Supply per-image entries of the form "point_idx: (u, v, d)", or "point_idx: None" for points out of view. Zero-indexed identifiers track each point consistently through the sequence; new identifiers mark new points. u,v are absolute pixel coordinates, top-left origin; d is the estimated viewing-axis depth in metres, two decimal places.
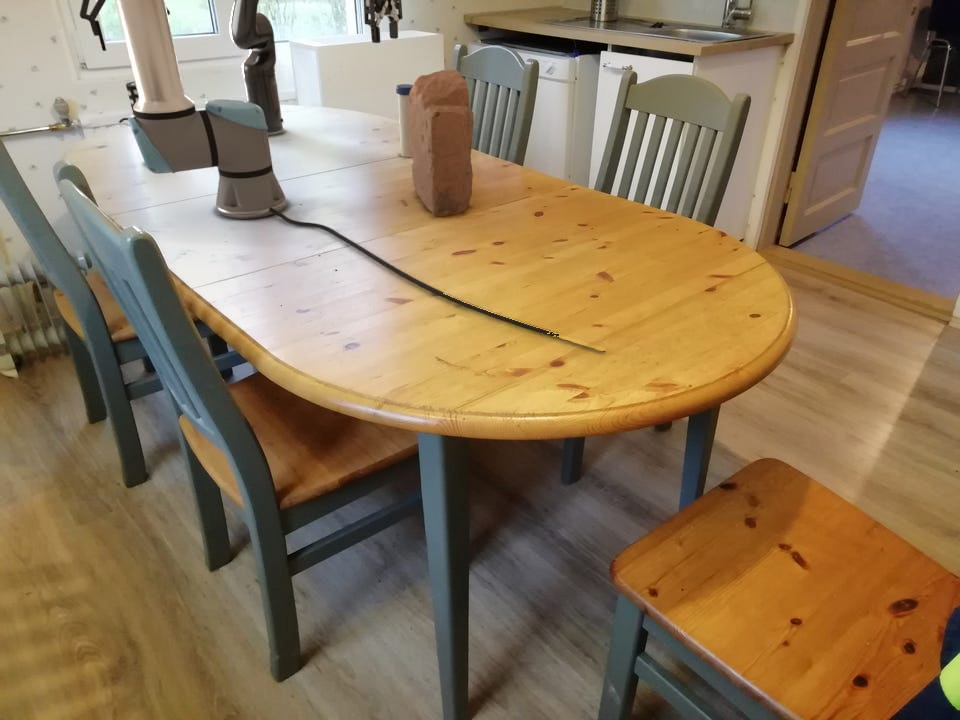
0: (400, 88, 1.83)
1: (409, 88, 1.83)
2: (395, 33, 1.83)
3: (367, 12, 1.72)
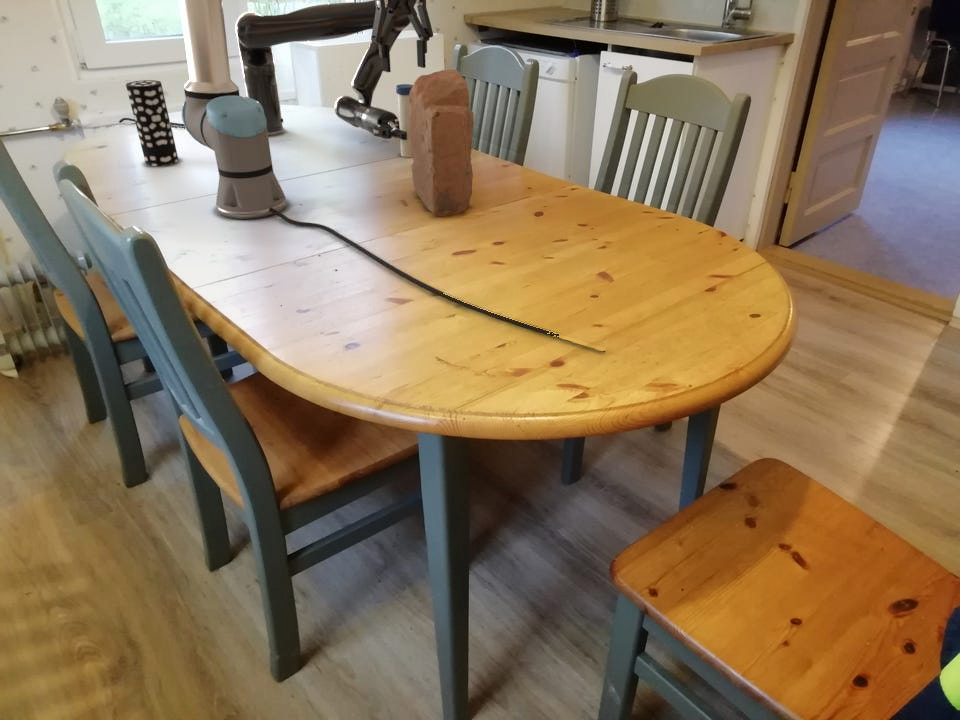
0: (400, 88, 1.83)
1: (409, 88, 1.83)
2: None
3: None
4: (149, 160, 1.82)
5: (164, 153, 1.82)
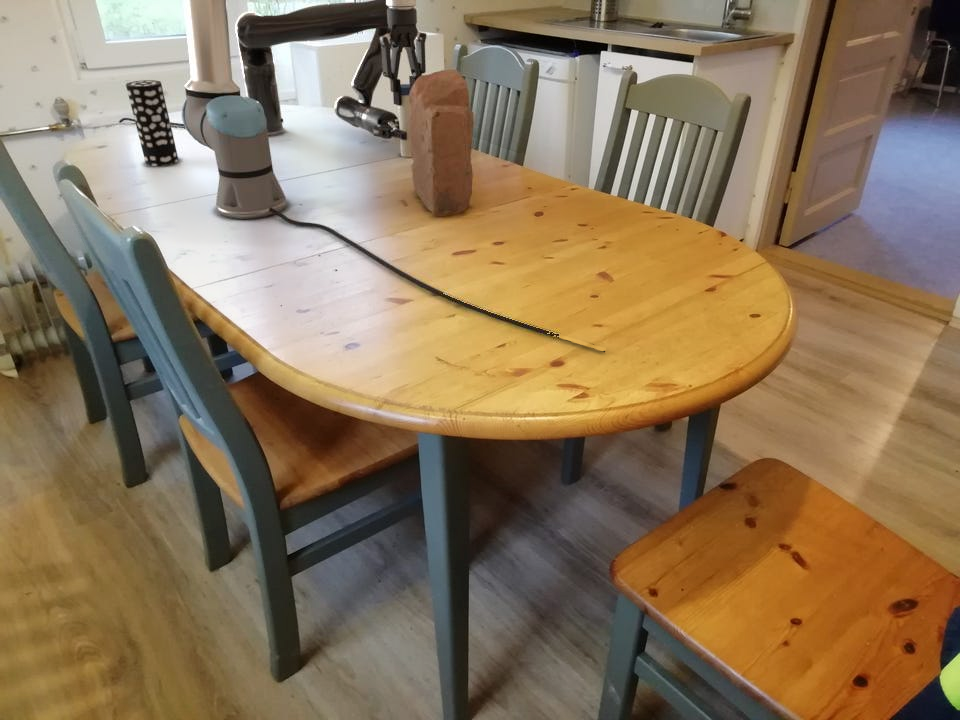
0: None
1: (409, 88, 1.83)
2: None
3: None
4: (149, 160, 1.82)
5: (164, 153, 1.82)
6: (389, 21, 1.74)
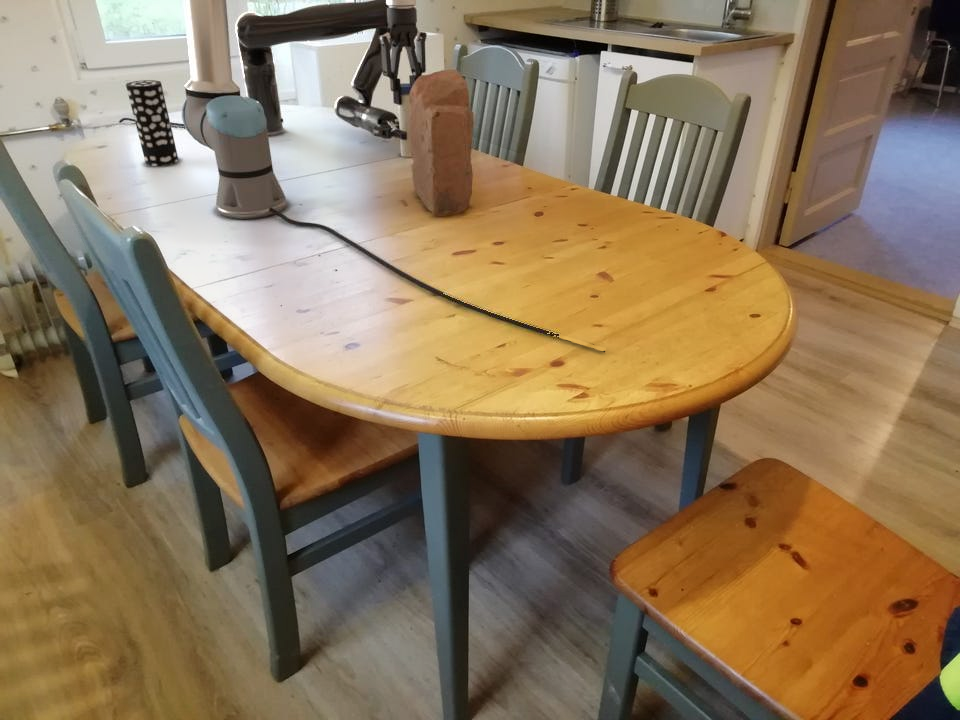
0: None
1: None
2: None
3: None
4: (149, 160, 1.82)
5: (164, 153, 1.82)
6: (389, 20, 1.74)
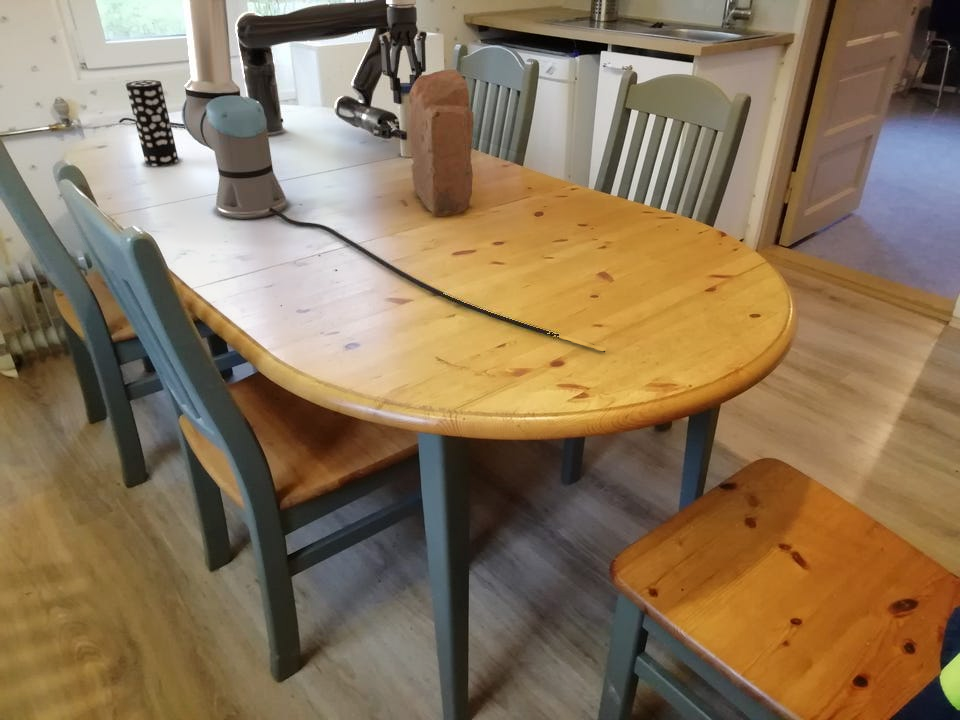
0: None
1: None
2: None
3: None
4: (149, 160, 1.82)
5: (164, 153, 1.82)
6: (389, 19, 1.74)
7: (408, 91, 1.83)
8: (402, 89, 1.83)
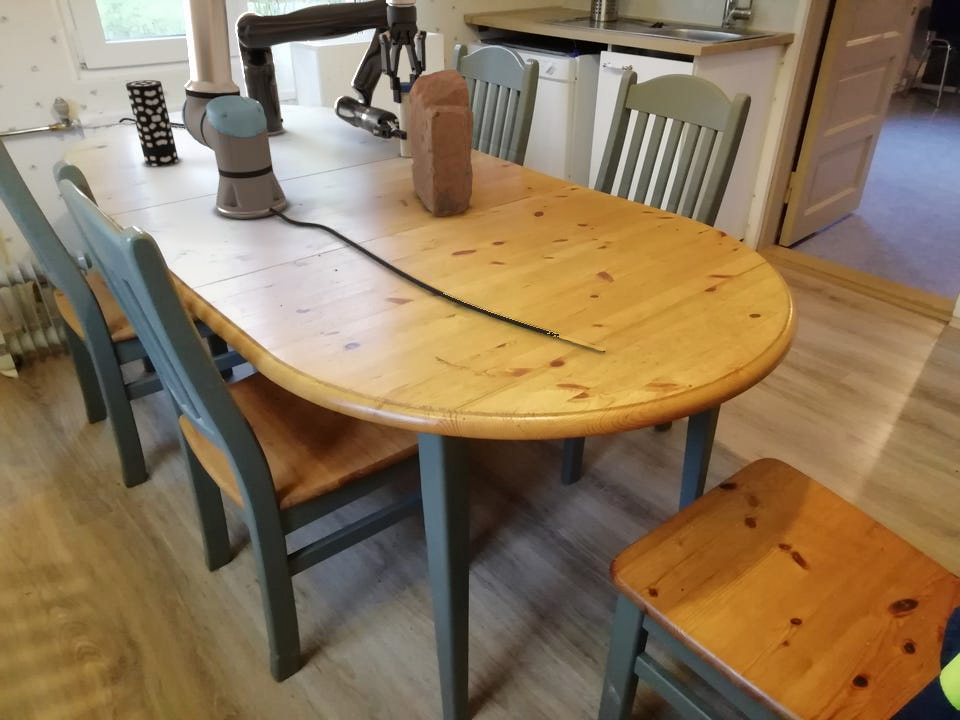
0: (403, 86, 1.82)
1: (411, 85, 1.83)
2: None
3: None
4: (149, 160, 1.82)
5: (164, 153, 1.82)
6: (389, 19, 1.74)
7: None
8: None
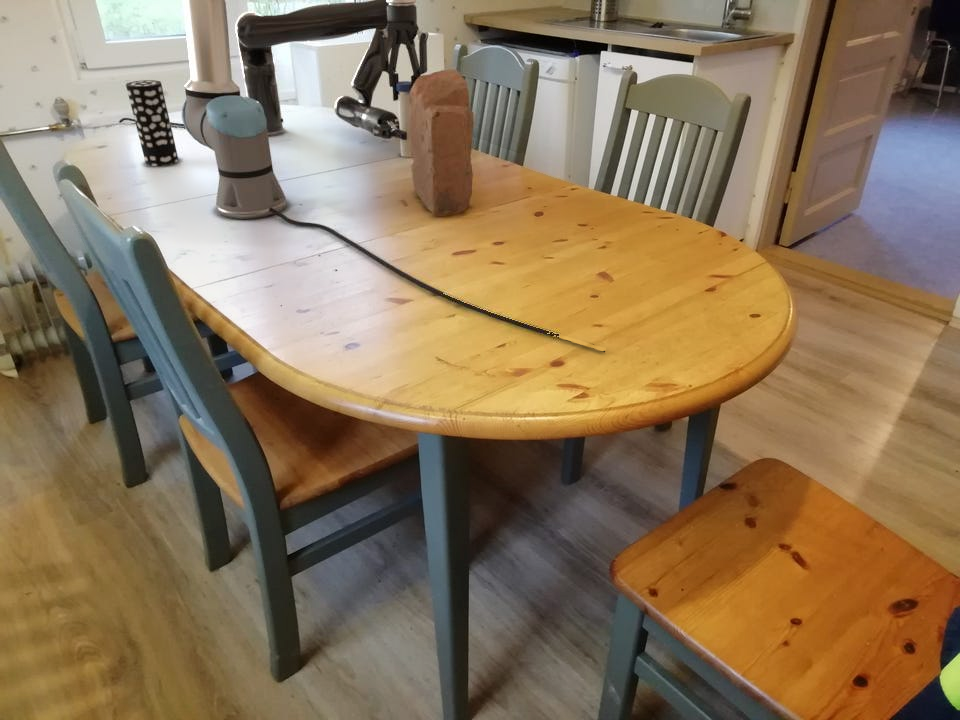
0: None
1: None
2: None
3: None
4: (149, 160, 1.82)
5: (164, 153, 1.82)
6: (415, 18, 1.75)
7: (396, 88, 1.85)
8: None
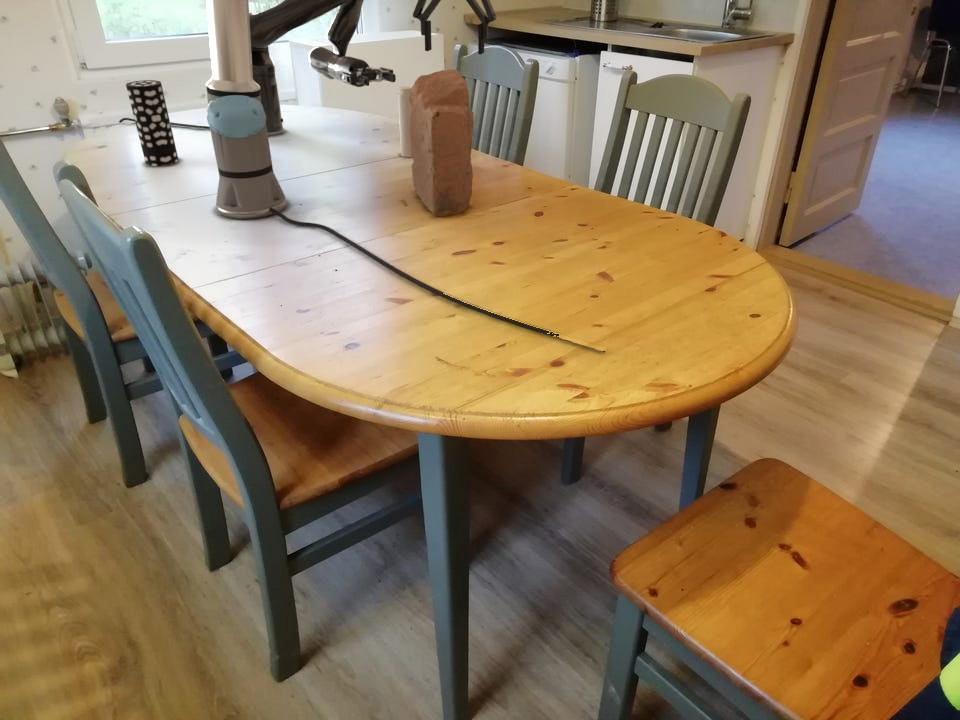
0: None
1: None
2: None
3: None
4: (149, 160, 1.82)
5: (164, 153, 1.82)
6: None
7: None
8: None
